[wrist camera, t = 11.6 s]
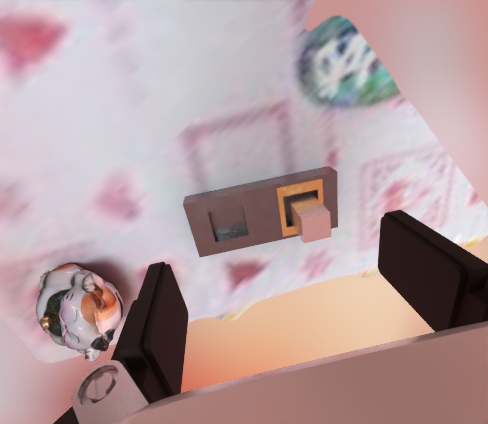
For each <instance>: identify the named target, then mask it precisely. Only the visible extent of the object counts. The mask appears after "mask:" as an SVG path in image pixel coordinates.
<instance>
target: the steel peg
mask: <svg viewBox="0 0 488 424" xmlns="http://www.w3.org/2000/svg"><path fill="white" fill-rule="evenodd" d="M284 198H285V206H286V213H287V217H288V218H289V220H290V221H291V223H292V225H293V226H294V228H295V230H296V231H297V233H298V234H299V236H300V238H301V239H302V241H303V243H306V242H311V241H315V240H319V239H324V238H328V237H331V222H330V211H329V210H328V209H327V208H326V207H325V206H324V205H323V204H322V203H321V202H320V201H319V200H318V199H317V198H316V197H315V196H314V195H313V194H312V193H311V192H310V191H308V192H303V193H299V194H294V195H289V196H285V197H284Z"/></svg>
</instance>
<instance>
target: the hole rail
mask: <svg viewBox="0 0 488 424" xmlns="http://www.w3.org/2000/svg"><path fill="white" fill-rule="evenodd" d="M308 191H310V192H311V193H312V194H313V195H314V196H315V197H316V198H317V199H318V200H319V201H320V202H321V203H322V204H323V205H324V206H325V207H326V208H327V209H328V210H329V211H330V222H331V229H332V228H336V227H338V210H337V171H335V170H334V169H332V168H330V167H329V166H328V167H323V168H319V169H314V170H309V171H304V172H300V173H295V174H290V175H286V176H281V177H276V178H271V179H267V180H262V181H257V182H253V183H248V184H243V185H239V186H234V187H229V188H224V189H220V190H215V191H210V192H206V193H201V194H196V195H191V196H187V197H185V199H184V203H183V205H184V209H185V212H186V215H187V218H188V221H189V224H190V228H191V231H192V234H193V237H194V240H195V243H196V247H197V250H198V253H199V256H200V257H204V256H209V255H213V254H218V253H222V252H227V251H231V250H236V249H240V248H245V247H250V246H254V245H259V244H263V243H268V242H272V241H277V240H281V239H286V238H291V237H295V236H299V234H298V233H297V231H296V230H295V228H294V226H293V225H292V223H291V221H290V220H289V218H288V217H287V213H286V206H285V198H284V197H285V196H289V195H294V194H299V193H303V192H308Z"/></svg>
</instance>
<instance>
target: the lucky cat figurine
mask: <svg viewBox="0 0 488 424" xmlns="http://www.w3.org/2000/svg"><path fill="white" fill-rule="evenodd" d="M40 278H41V280H40V284H39V292H40V295H39V297H38V300H37V301H38V302H37V305H36V314H37V318H38V322H39V324H40V325H41V327H42V328H43V330H44V331H45V332H46V333H48V334H50V336H51V338H52V340H53V341H54V342H55V343H57V344H59V345H62V346H67V347H68V348H71V349H77V351H78V352H80V353H82V354H85V360H87V361H95V360H96V358H97V357H98V356H99V355H100V353H101V352H102V351H106V350H107V349H108V345H109V343H110V341H111V340H112V339H113V334H114V332H115V330H116V329H117V327H118V325H119V323H120V321H121V319H122V316H123V310H124V305H123V300H122V298H121V296H120V294H119V292H118V290H117V289H116V288H115V287H114V285H113V284H111V283H109V282H107V281H105V280H103V279H102V278H101V277H99V276H98V275H97V274H95V273H94V272H90V271H88V270H84V269H83V268H81V267H79V266H77V265H75V264H71V263H68V264H65V265H63V266H61V267H59V268H56V269H53V270H52V271H51V272H50V273H44V274H43V275H42V276H41V277H40Z"/></svg>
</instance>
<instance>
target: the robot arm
mask: <svg viewBox="0 0 488 424" xmlns="http://www.w3.org/2000/svg"><path fill="white" fill-rule="evenodd" d="M378 269H379V271H380V273H381V274H382V275H383V277H384V278H385V279H386V280H387V281H388V282H389V283H390V284H391V285H392V286H393V287H394V288H395V289H396V290H397V292H398V293H400V295H401V296H402V297H403V298H404V299H405V300H406V301H407V302H408V303H409V304H410V305H411V306H412V308H414V310H415V311H416V312H417V313H418V314H419V315H420V316H421V317H422V318H423V319H424V320H425V321H426V322H427V324H428V325H429V326H430V327H431V328H432V329H433V330H434V331H435V332H434V333H430V334H425V335H421V336H416V337H412V338H408V339H403V340H399V341H394V342H390V343H386V344H382V345H377V346H373V347H368V348H364V349H360V350H356V351H351V352H347V353H343V354H339V355H335V356H330V357H326V358H322V359H317V360H313V361H309V362H305V363H300V364H296V365H292V366H288V367H284V368H279V369H275V370H271V371H267V372H263V373H259V374H254V375H251V376H246V377H242V378H238V379H234V380H230V381H226V382H222V383H218V384H214V385H210V386H206V387H203V388H199V389H195V390H191V391H187V392H184V393H181V384H182V374H183V364H184V354H185V344H186V335H187V325H188V310H187V307H186V305H185V302H184V300H183V297H182V294H181V292H180V289H179V287H178V284H177V281H176V279H175V276H174V274H173V271H172V269H171V266H170V265H169V264H167V265H166V264H165V263H164V262H160V263H155V264H151V265H150V266H149V268H148V271H147V273H146V276H145V279H144V282H143V285H142V287H141V290H140V293H139V296H138V299H137V300H135V301H133V303H132V305H131V308H130V310H129V313H128V316H127V318H126V321H125V324H124V326H123V329H122V332H121V334H120V337H119V340H118V342H117V345H116V348H115V350H114V353H113V356H112V358H111V360H110V361H105V362H103V363H100V364H98V365H96V366H95V367H93V368H92V369H90V370H89V371H88V372H87V373H86V374H85V375H84V376H83V377H82V379H81V380H80V381H79V382H78V384H77V386H76V388H75V389H74V392H73V395H72V407H71V408H70V409H69V410H68V411H67V412H66V413H64V414H63V415H62V416H61V417H60V418H59V419H58V420H57V421H56V422H55V423H54V424H488V264H487V263H485V262H484V261H482V260H481V259H479V258H478V257H476V256H474V255H473V254H471V253H470V252H468V251H466V250H465V249H463V248H461V247H460V246H458V245H457V244H455V243H453V242H452V241H450V240H449V239H447V238H445V237H444V236H442V235H441V234H439V233H437V232H436V231H434V230H432V229H431V228H429V227H428V226H426V225H424V224H423V223H421V222H420V221H418V220H416V219H415V218H413V217H412V216H410V215H408V214H407V213H405V212H403V211H402V210H396V211H392V212H387V213H385V215H384V217H382V218H381V226H380V241H379V256H378Z"/></svg>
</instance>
